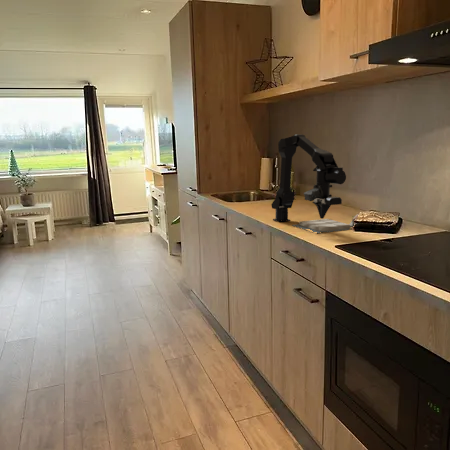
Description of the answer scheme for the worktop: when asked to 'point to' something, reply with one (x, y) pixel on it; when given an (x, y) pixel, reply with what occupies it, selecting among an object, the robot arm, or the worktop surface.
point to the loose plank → (319, 225)
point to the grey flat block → (336, 223)
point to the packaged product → (353, 221)
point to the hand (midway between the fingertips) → (321, 218)
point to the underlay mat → (318, 231)
